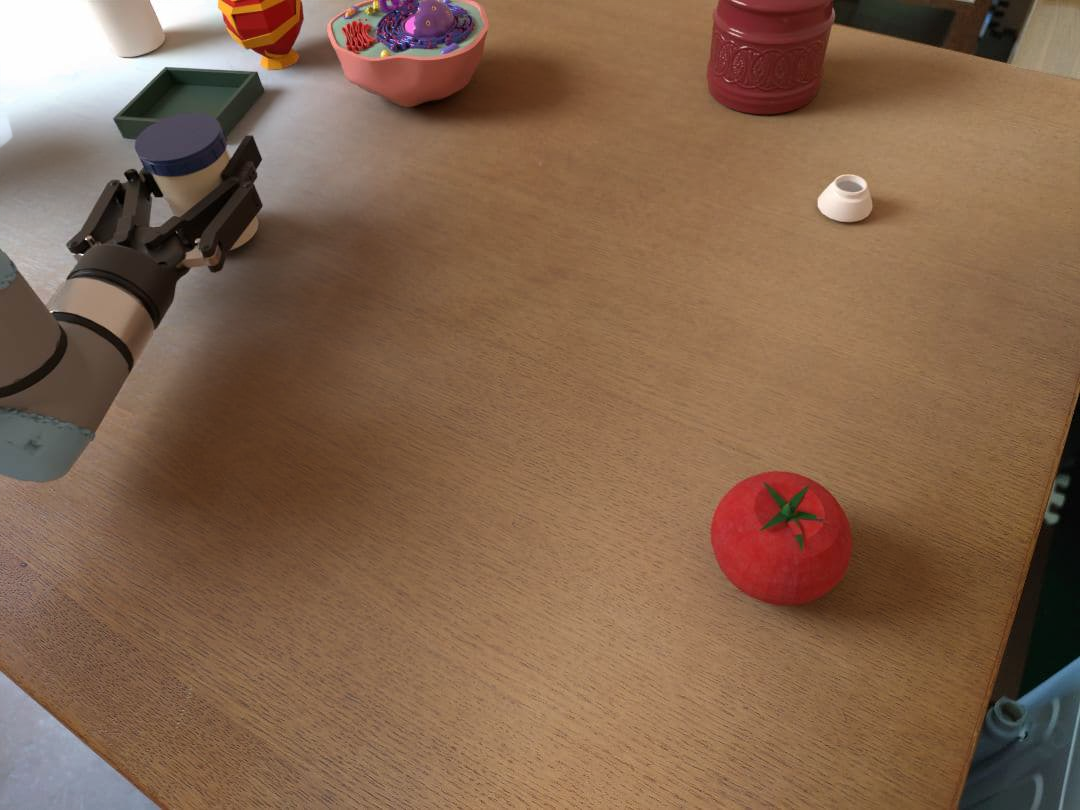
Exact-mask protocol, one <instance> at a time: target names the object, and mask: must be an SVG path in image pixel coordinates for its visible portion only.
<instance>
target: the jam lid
mask: <svg viewBox="0 0 1080 810" xmlns="http://www.w3.org/2000/svg"><path fill="white" fill-rule="evenodd" d="M227 144H228V137H227V136H225V133H224V131H223V130H222V128H221V126H220V124H219V122H218V121H217V120H216V119H215V118H214V117H212V116H210V115H207V114H201V113H186V114H180V115H175V116H171V117H168V118H165V119H163V120H160V121H158V122H156V123H154V124H152V125H151V126H149V127H148V128H146V129H145V130H144V131H143V132H142V133H141V134H140V135H139V136H138V138H137V139H136V140H135V142H134V150H135V153H136V155H137V157H138V159H139V161H140V162H141V164H142V166H143V167H144V168H145V170H147V171H149V172H150V173H152V174H155V175H158V176H166V177H173V176H181V175H186V174H190V173H193V172H196V171H199V170H201V169H203V168H206V167H207V166H209V165H211V164H212V163H214V162H215V161H216V160H218V159H219V158H220V157H221V155H222V154H223V153H224V151H225V150H226V148H227V146H228V145H227Z"/></svg>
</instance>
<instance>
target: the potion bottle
mask: <svg viewBox="0 0 1080 810" xmlns="http://www.w3.org/2000/svg"><path fill="white" fill-rule="evenodd" d="M217 9H218V10H219V11H220V12H221V13H222V19H223V22H224V24H225V29H226V30H227V32H228V33H229V35H230V37H231V38H232V40H233V41H235V42H236V43H237V44H239V45H240V46H241V47H242V48H244V49H245V50H252V51H253V52H255V53H256V54H259V55H261V60H260V64H259V65H260V66H261V67H263V68H264V69H266V70H267V71H273V70H284V69H286V68H288V67H290V66H293V65H294V64H296V63H297V62H298V60H299V58H300V54H299V53H297V51H295V49H293V47H294V45H295V43H296V41H297V39H298V37H299V35H300V33H301V29H302V26H303V23H304V20H305V17H304V7H303V2H302V0H217Z"/></svg>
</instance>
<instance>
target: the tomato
mask: <svg viewBox="0 0 1080 810" xmlns="http://www.w3.org/2000/svg"><path fill="white" fill-rule="evenodd" d="M710 524H711V525H710V542H711V547H712V550H713V553H714V557H715V560H716V562H717V564H718V566H719V568H720V570H721V572H722V573H723V574H724V576H725V577H726V579H727V580H728V581H729V582H730V583H731V584H732V585H733V586H735V587H736V589H738V590H739V591H741V592H742V593H744V594H745V595H747V596H749V597H750V598H753V599H755V600H757V601H760V602H762V603H765V604H769V605H773V606H783V607H784V606H787V607H790V606H798V605H804V604H806V603H810V602H813V601H815V600H817V599H818V598H820V597H822V596H823V595H825V594H827V593H828V592H830V591H831V590H833V589H834V588H835V587H836V586H837V585H838V584H839V583H840V582H841V580H842V579H843V577H844V576H845V574H846V572H847V570H848V568H849V566H850V565H849V564H850V561H851V558H852V553H853V538H852V529H851V525H850V524H851V523H850V521H849V518H848V517H847V514H846V512H845V510H844V509H843V507H842V506H841V504H840V503H839V501H838V500H837V498H836V497H835V496H834V495H833V494H832V493H831V492H830V491H829V490H828V489H827V488H825V487H824V486H823V485H822V484H820V483H819V482H817V481H815V480H813V479H811V478H810V477H807V476H805V475H802V474H800V473H795V472H791V471H781V470H773V471H764V472H760V473H757V474H754V475H751V476H748V477H746V478H744V479H743V480H740V481H738V482H737V483H736V484H735V485H734V486H732V487H731V488H730V489H729V490H728V491H727V492H726V493H725V495H724V496H723V497H722V498H721V500H720V501H719V502H718V504H717V506H716V508H715V511H714V512H713V516H712V519H711V523H710Z"/></svg>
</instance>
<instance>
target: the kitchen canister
mask: <svg viewBox="0 0 1080 810" xmlns="http://www.w3.org/2000/svg"><path fill="white" fill-rule="evenodd" d="M834 1H835V0H718V2H717V3H716V5H715V6H714V7H713V11H712V20H713V22H712V32H711V33H712V34H711V43H710V53H709V60H708V63H707V67H706V79H707V88H708V91H709V94H710V95H711V96H712V98H713V99H714V100H716V101H717V102H718V103H719V104H721V105H723V106H725V107H726V108H729V109H730V110H734V111H737V112H742V113H747V114H751V115H776V114H783V113H788V112H791V111H795V110H797V109H800V108H802V107H804V106H805V105H807V104H808V103H810V102H811V101H812V100H813V99H814V98H815V96H816V95H817V91H818V89H819V87H820V85H821V83H822V79H823V75H824V71H825V70H824V65H825V64H824V63H825V59H826V54H827V49H828V45H829V41H830V40H829V39H830V35H831V31H832V27H833V25H834V23H835V20H836V12H835V8H834Z"/></svg>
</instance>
